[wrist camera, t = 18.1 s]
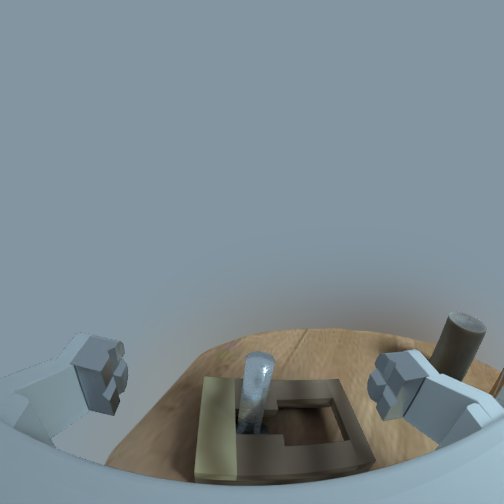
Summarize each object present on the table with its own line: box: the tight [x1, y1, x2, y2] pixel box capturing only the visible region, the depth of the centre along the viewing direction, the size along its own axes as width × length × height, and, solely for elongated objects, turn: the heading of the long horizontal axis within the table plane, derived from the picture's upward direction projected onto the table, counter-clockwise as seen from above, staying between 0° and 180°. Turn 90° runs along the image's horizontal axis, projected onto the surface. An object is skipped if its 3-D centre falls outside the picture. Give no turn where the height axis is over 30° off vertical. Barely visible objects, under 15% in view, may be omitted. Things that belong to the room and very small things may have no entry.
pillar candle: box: [429, 312, 487, 382], centre depth 43 cm, size 10×10×15 cm
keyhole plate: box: [194, 376, 376, 486], centre depth 32 cm, size 21×17×4 cm
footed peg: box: [235, 351, 275, 435], centre depth 30 cm, size 6×6×15 cm
